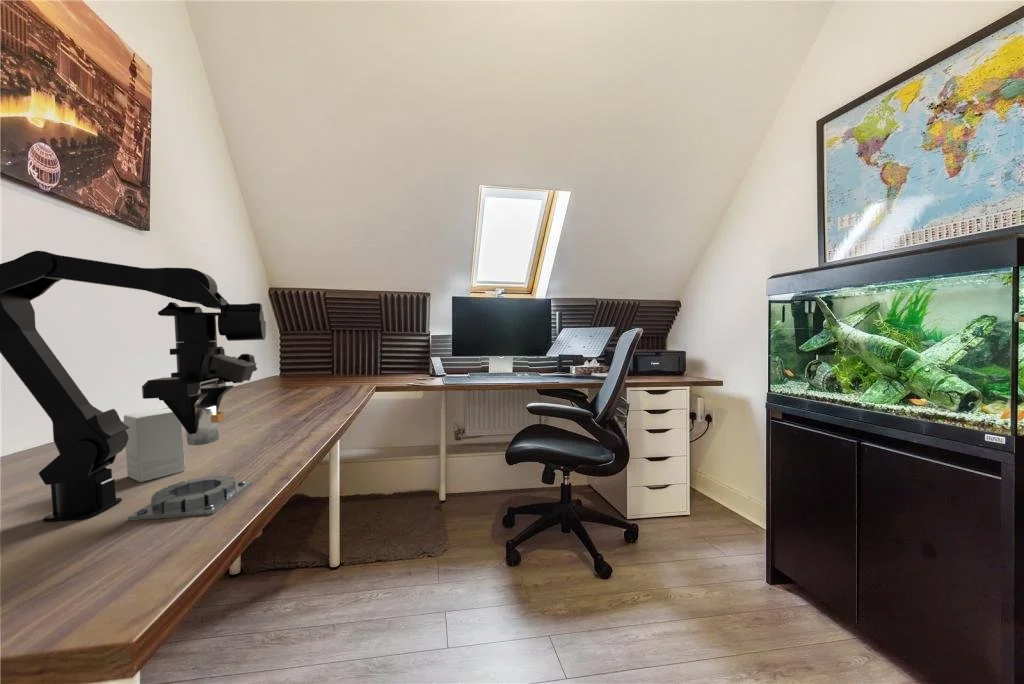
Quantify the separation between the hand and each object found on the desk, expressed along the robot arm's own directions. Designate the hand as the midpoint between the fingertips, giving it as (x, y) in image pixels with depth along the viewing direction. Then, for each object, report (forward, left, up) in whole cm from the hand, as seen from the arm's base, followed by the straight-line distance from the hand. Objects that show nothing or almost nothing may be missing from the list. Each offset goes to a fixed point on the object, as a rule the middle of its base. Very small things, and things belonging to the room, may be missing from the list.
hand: (201, 429), depth 71 cm
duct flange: (+1, -4, -11) cm, 12 cm away
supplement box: (-16, +12, -12) cm, 23 cm away
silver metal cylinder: (0, 0, -2) cm, 2 cm away
